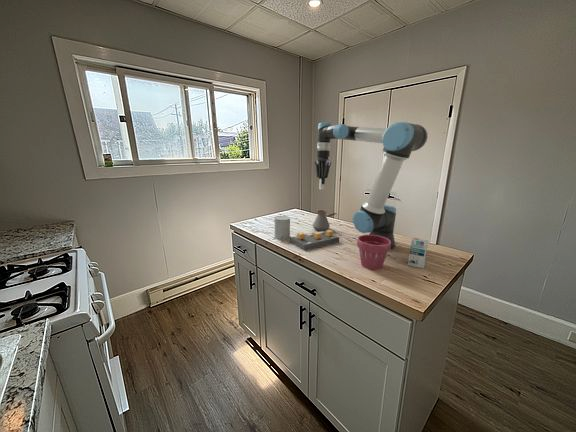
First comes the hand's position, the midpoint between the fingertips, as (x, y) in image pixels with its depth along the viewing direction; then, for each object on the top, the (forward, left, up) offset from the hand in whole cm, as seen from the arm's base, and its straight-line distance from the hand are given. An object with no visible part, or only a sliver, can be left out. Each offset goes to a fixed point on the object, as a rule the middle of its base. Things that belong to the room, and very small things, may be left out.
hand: (321, 189), depth 148 cm
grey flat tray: (-13, +14, -28) cm, 34 cm away
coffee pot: (-1, -4, -29) cm, 29 cm away
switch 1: (-11, +22, -25) cm, 35 cm away
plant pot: (-50, +10, -29) cm, 58 cm away
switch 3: (-16, +6, -25) cm, 30 cm away
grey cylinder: (+4, +26, -29) cm, 39 cm away
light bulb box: (-59, -11, -29) cm, 67 cm away
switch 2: (-15, +14, -25) cm, 32 cm away
